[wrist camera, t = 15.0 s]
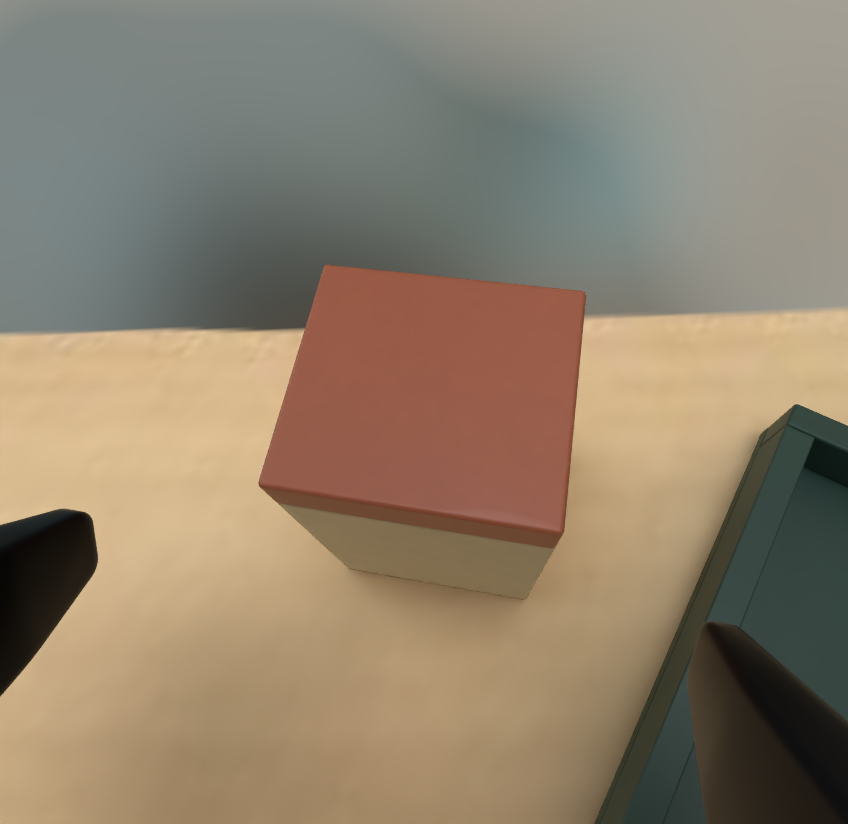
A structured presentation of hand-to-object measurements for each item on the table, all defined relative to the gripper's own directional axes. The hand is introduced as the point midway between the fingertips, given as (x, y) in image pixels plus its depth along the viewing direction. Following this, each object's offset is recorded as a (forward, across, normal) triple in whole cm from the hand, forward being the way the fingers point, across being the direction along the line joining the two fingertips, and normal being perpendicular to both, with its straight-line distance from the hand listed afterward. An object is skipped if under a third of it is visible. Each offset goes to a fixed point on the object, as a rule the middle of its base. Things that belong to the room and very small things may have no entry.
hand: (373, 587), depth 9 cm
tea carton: (+10, 0, +4) cm, 11 cm away
